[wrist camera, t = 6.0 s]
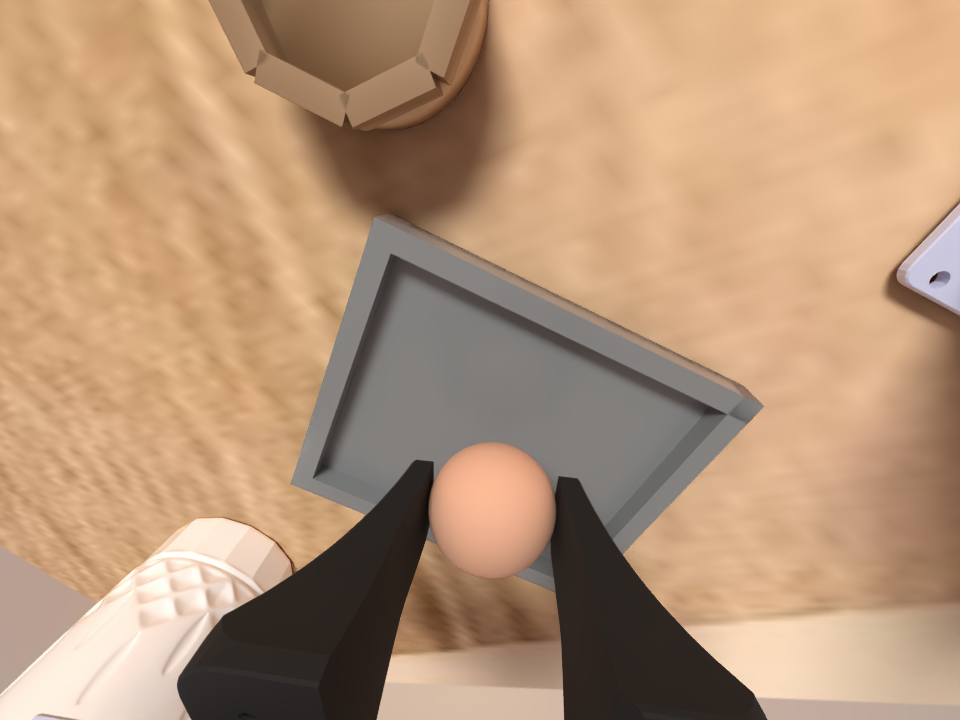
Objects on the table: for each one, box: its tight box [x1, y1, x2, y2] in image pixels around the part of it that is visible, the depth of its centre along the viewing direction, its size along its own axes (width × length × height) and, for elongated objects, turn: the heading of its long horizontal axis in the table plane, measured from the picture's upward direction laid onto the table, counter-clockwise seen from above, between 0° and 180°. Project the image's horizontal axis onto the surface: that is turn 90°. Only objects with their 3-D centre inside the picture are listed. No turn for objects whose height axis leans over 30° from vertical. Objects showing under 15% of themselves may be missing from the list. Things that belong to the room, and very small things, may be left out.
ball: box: [428, 442, 556, 579], centre depth 13 cm, size 4×4×4 cm
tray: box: [291, 213, 764, 592], centre depth 16 cm, size 14×12×1 cm
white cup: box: [0, 518, 293, 720], centre depth 18 cm, size 8×8×10 cm
